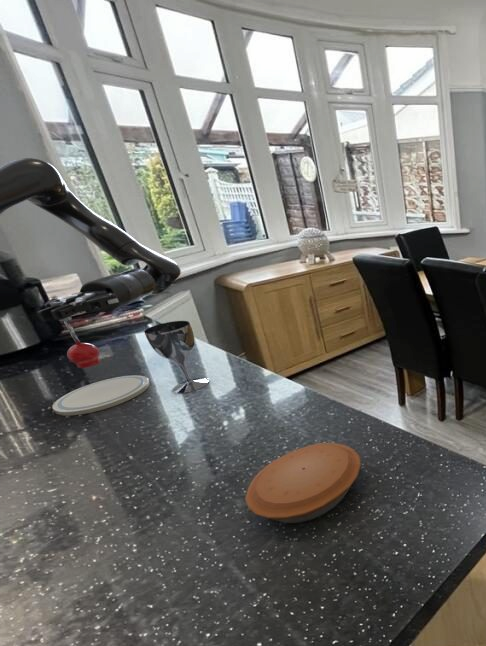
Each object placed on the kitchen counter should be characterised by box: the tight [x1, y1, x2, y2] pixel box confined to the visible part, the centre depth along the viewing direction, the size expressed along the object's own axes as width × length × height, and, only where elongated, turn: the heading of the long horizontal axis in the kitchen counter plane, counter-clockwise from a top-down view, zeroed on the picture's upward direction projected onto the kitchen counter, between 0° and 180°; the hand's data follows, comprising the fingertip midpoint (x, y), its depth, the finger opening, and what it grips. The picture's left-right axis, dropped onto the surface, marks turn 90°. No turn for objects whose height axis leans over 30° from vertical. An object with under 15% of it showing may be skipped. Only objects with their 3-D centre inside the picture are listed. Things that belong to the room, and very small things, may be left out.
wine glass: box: [143, 320, 210, 394], centre depth 90 cm, size 8×8×15 cm
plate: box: [51, 374, 151, 417], centre depth 90 cm, size 16×16×1 cm
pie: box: [244, 442, 362, 524], centre depth 59 cm, size 15×16×5 cm
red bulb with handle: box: [50, 301, 101, 369], centre depth 84 cm, size 5×5×14 cm
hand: (48, 316), depth 79 cm, fingers closed on red bulb with handle
